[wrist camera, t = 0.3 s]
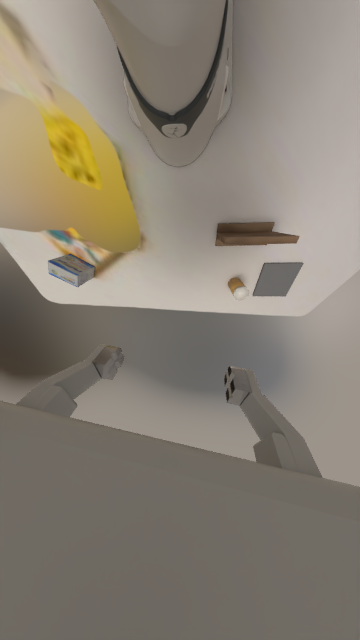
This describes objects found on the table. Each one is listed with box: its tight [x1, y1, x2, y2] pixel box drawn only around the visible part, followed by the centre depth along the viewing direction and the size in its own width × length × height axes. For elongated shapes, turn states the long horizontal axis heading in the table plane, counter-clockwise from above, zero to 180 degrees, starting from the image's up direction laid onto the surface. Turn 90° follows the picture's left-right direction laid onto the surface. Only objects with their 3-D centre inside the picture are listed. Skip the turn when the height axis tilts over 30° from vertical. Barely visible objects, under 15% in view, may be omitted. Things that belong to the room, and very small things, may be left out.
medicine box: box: [48, 254, 95, 287], centre depth 40 cm, size 8×4×9 cm, turn 59°
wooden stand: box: [215, 222, 299, 246], centre depth 30 cm, size 5×14×12 cm, turn 91°
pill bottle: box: [228, 278, 249, 300], centre depth 41 cm, size 4×4×8 cm
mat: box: [253, 263, 303, 296], centre depth 42 cm, size 11×11×1 cm
